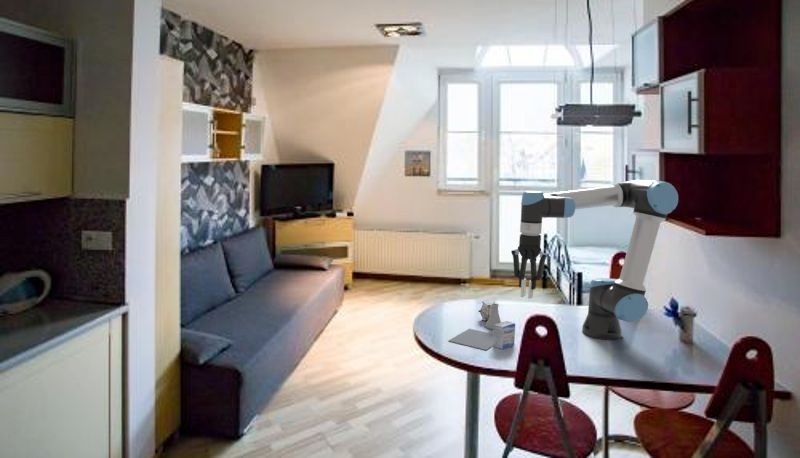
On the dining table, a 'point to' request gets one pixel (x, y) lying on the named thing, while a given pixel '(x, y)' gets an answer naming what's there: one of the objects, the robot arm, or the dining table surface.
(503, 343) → the medicine box
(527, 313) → the dining table surface
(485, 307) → the game die
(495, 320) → the flask
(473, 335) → the mat
